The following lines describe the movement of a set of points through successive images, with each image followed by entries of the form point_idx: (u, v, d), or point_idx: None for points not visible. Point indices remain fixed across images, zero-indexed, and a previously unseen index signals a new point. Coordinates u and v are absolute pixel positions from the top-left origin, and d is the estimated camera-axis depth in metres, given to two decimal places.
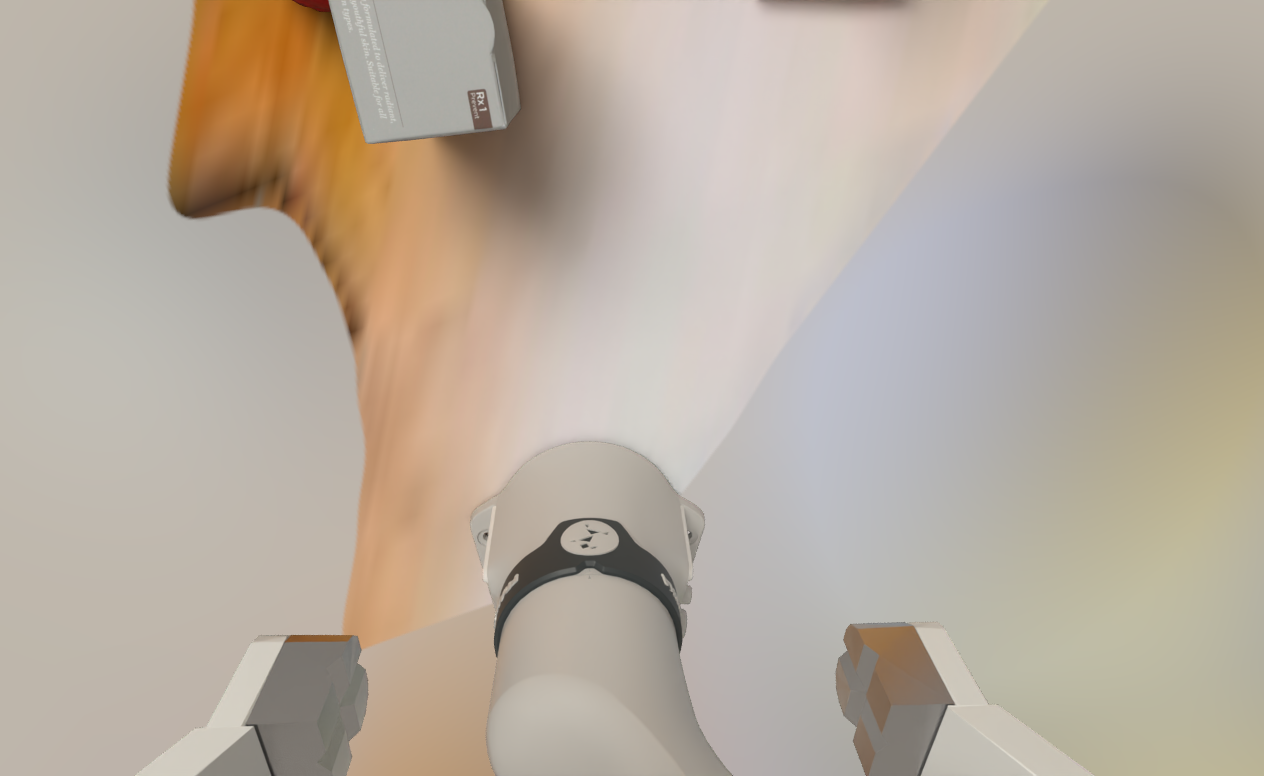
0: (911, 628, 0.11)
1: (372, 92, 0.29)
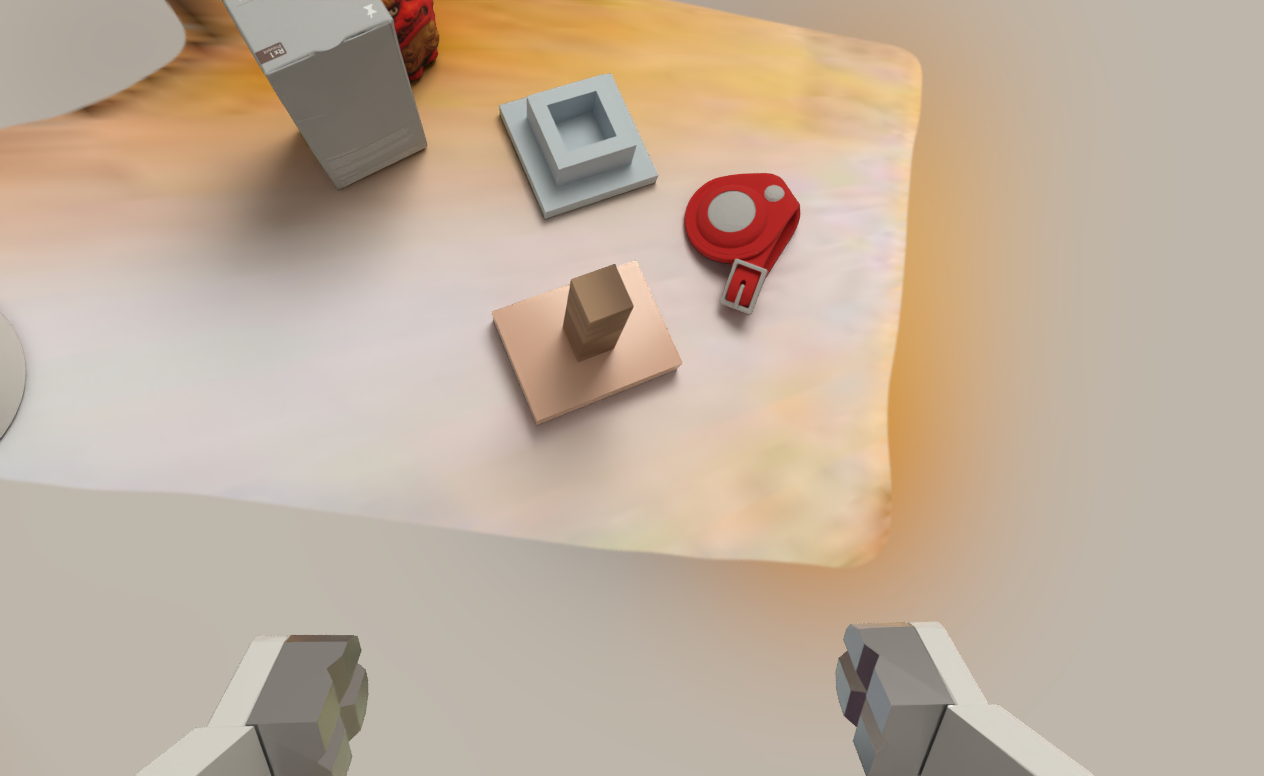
0: (911, 628, 0.11)
1: None
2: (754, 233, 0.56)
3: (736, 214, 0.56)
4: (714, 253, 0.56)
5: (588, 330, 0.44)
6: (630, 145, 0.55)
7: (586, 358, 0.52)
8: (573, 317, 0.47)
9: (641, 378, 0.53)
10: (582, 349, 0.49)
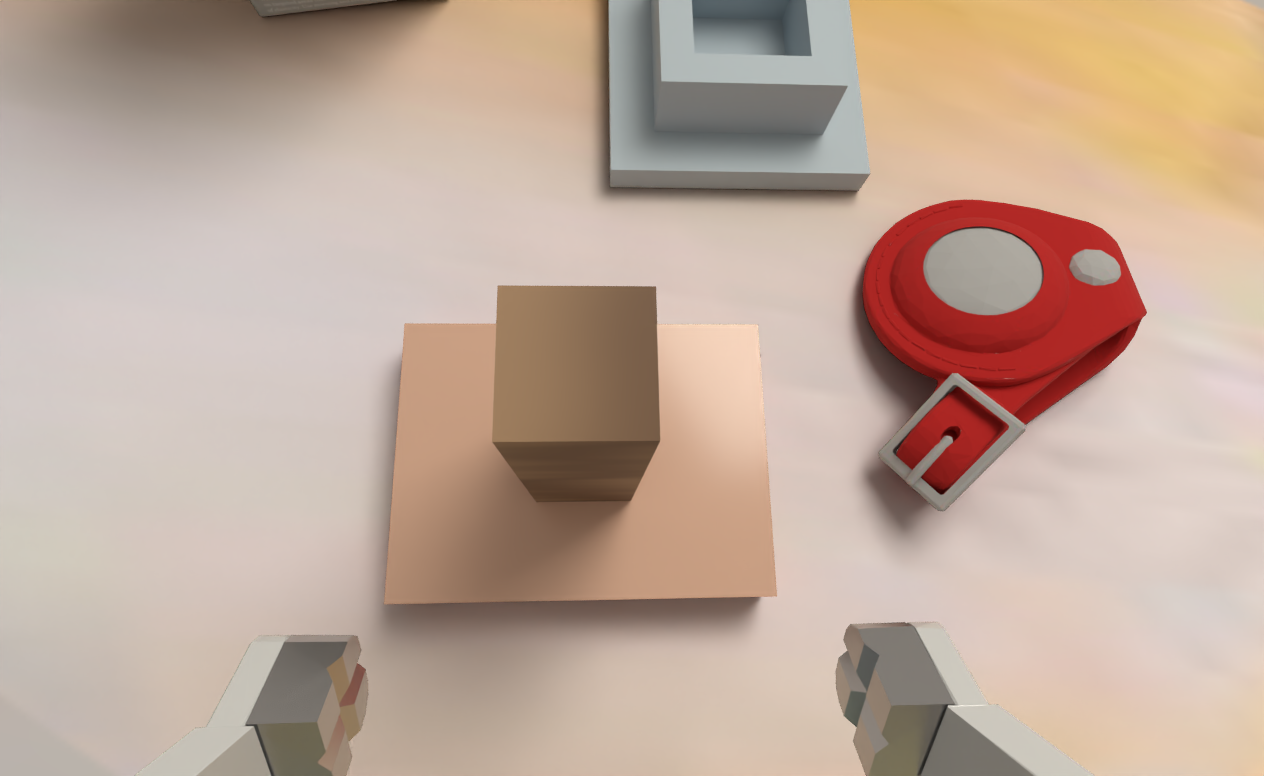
0: (911, 628, 0.11)
1: None
2: (1019, 334, 0.23)
3: (991, 279, 0.24)
4: (907, 344, 0.24)
5: (508, 458, 0.14)
6: (832, 82, 0.24)
7: (557, 500, 0.22)
8: None
9: (665, 595, 0.21)
10: (528, 487, 0.18)
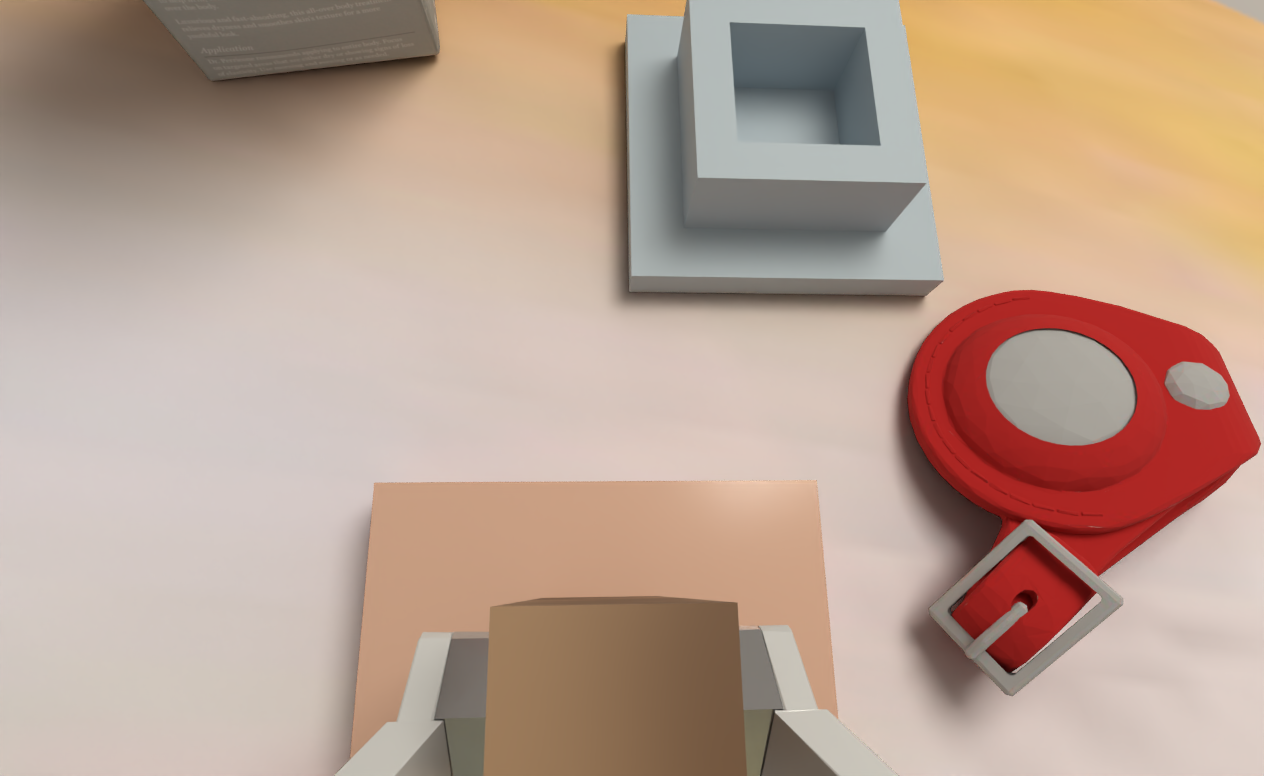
0: (757, 631, 0.11)
1: None
2: (1108, 470, 0.19)
3: (1073, 398, 0.19)
4: (966, 474, 0.20)
5: None
6: (908, 179, 0.20)
7: None
8: None
9: None
10: None
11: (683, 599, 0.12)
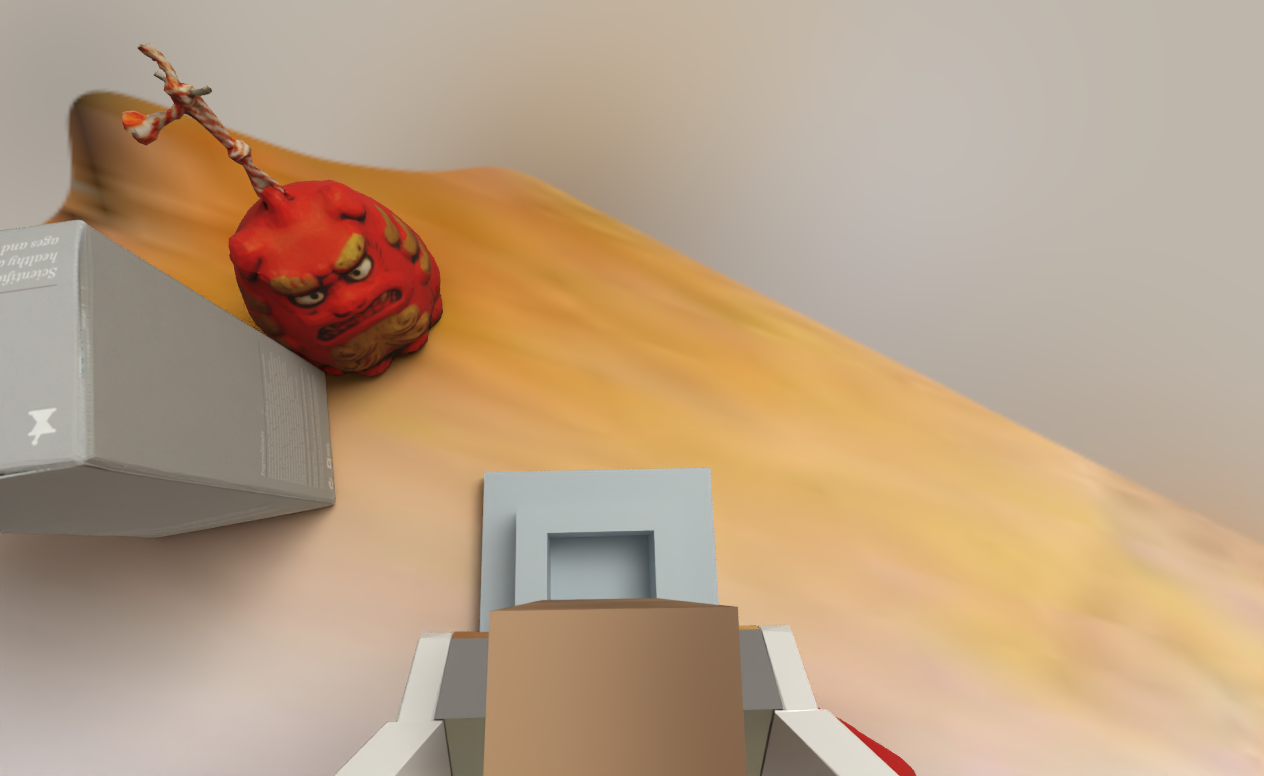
0: (757, 631, 0.11)
1: None
2: None
3: None
4: None
5: None
6: None
7: None
8: None
9: None
10: None
11: (683, 602, 0.12)
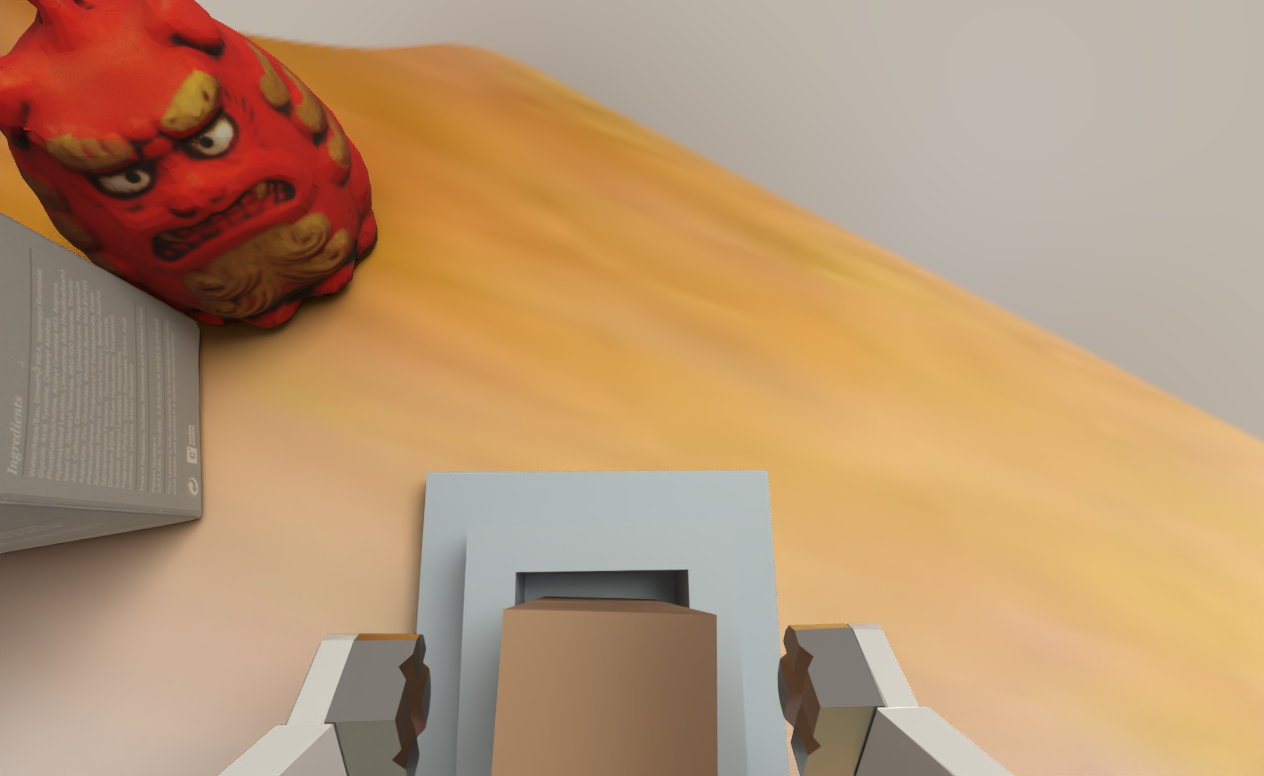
0: (848, 629, 0.11)
1: None
2: None
3: None
4: None
5: None
6: None
7: None
8: None
9: None
10: None
11: (673, 606, 0.13)
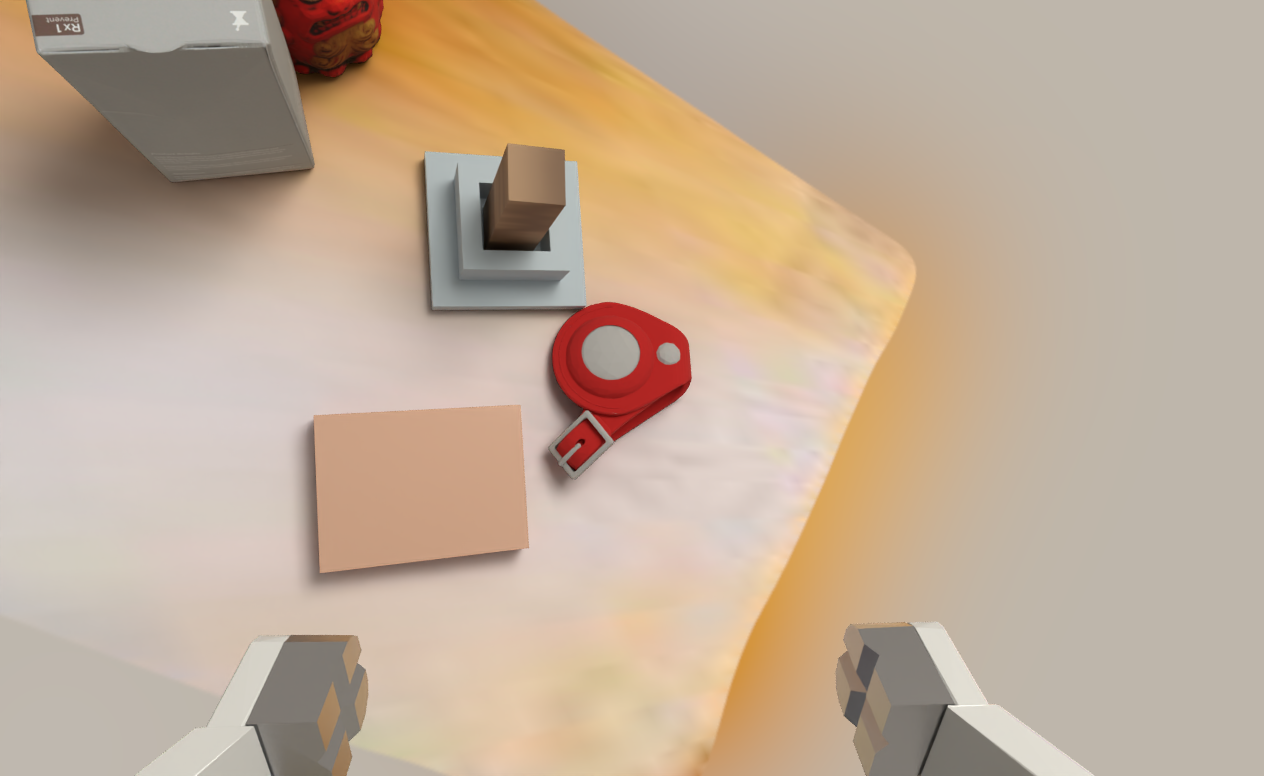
0: (911, 628, 0.11)
1: None
2: (622, 390, 0.45)
3: (613, 359, 0.45)
4: (569, 390, 0.45)
5: (504, 211, 0.37)
6: (562, 268, 0.44)
7: None
8: (496, 194, 0.40)
9: (472, 553, 0.42)
10: (492, 236, 0.42)
11: None
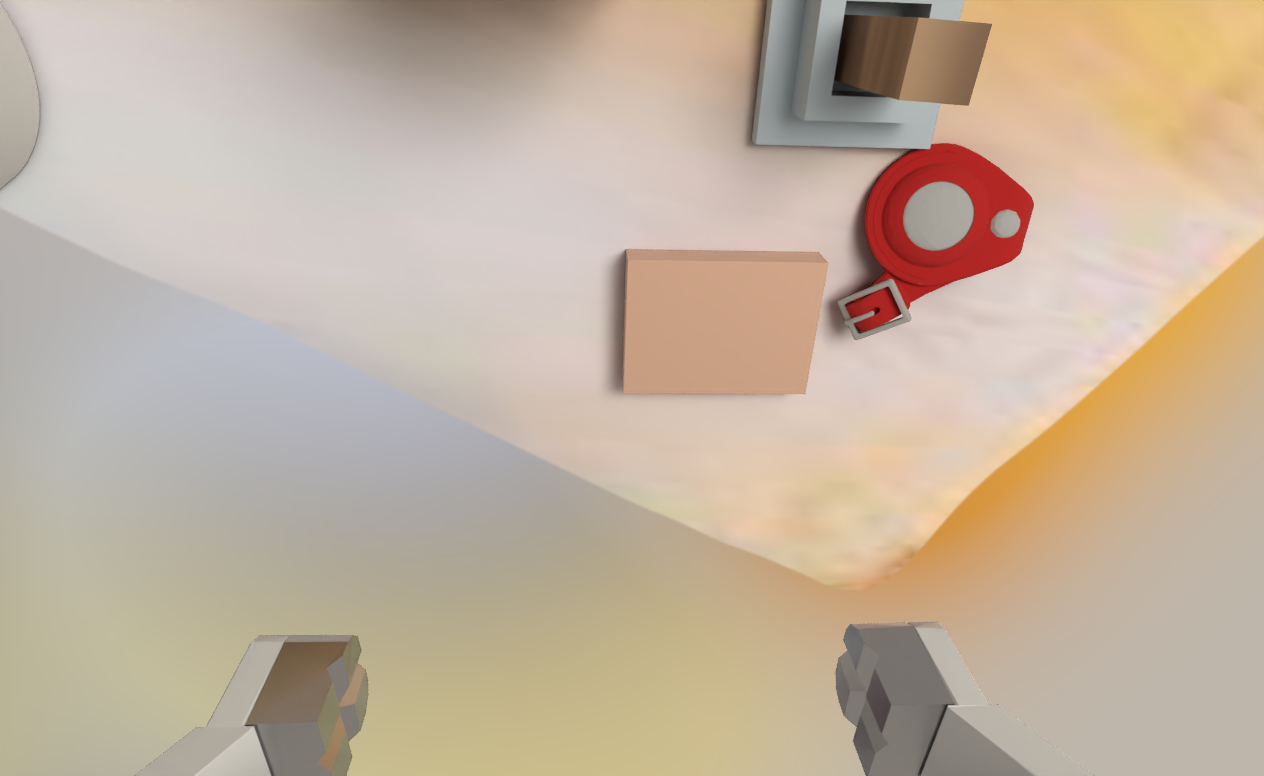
0: (911, 628, 0.11)
1: None
2: (937, 262, 0.41)
3: (939, 227, 0.40)
4: (876, 249, 0.41)
5: None
6: (919, 121, 0.36)
7: None
8: (871, 45, 0.31)
9: (753, 392, 0.45)
10: None
11: None
